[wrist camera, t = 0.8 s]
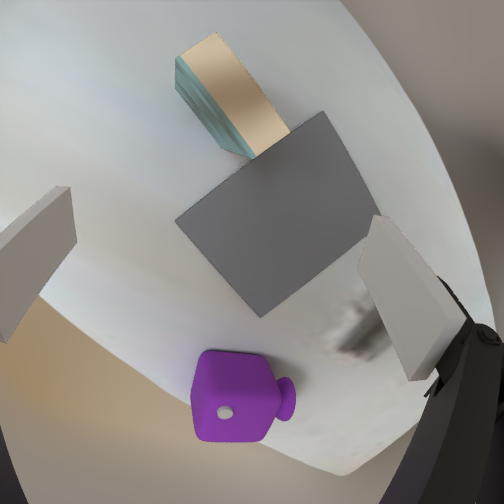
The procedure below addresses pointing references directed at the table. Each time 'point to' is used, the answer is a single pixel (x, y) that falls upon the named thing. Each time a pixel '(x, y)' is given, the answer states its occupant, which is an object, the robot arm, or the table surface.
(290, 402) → the toy camera
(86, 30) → the table surface
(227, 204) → the mat
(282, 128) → the tile
